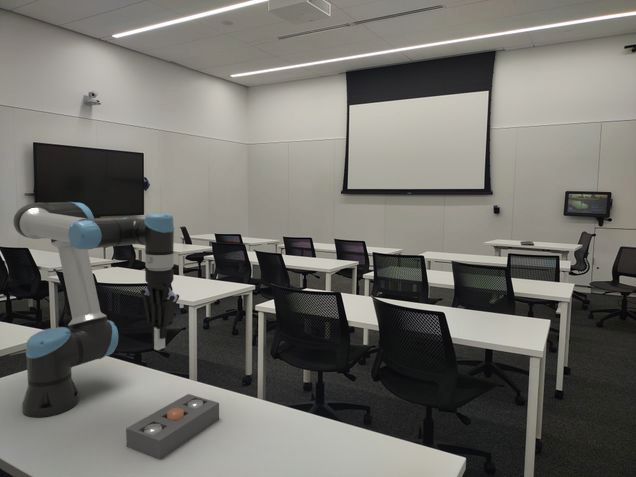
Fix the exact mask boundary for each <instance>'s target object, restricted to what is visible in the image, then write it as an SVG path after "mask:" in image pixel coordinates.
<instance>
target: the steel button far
mask: <svg viewBox="0 0 636 477" xmlns="http://www.w3.org/2000/svg"><path fill="white" fill-rule="evenodd" d="M201 405H203V401H202V400H191V401H189V402H188V407H192V408H195V409H197V408H198V407H200V406H201Z"/></svg>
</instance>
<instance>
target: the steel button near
mask: <svg viewBox="0 0 636 477" xmlns="http://www.w3.org/2000/svg"><path fill="white" fill-rule="evenodd" d="M160 430H162V426H161V425H160V424H151V425H148V426H146V427H145V428H144V433H147V434H150V435H154V434H156V433H157V432H159V431H160Z"/></svg>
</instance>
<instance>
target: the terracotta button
mask: <svg viewBox="0 0 636 477" xmlns="http://www.w3.org/2000/svg"><path fill="white" fill-rule="evenodd" d="M183 416H184V410H183V409H182V408H173V409H170V410H168V411H167V419H170V420H173V421H177V420H179V419H180V418H182V417H183Z"/></svg>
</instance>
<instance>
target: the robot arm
mask: <svg viewBox="0 0 636 477" xmlns="http://www.w3.org/2000/svg"><path fill="white" fill-rule="evenodd" d="M144 216H145V217H144V218H138V217H135V216H133V217H129V216H128V217H124V218H118V219H117V218H116V219H115V218H114V219H95V217H94V215H93V213H92V211H91V209H90V208H89V207H88V206H87V205H86V204H84V203H82V202H73V201H63V202H62V201H61V202H60V201H59V202H34V203H29V204H26V205H23V206H22V207H21V208H19V209H18V210H17V211H16V213H15V214H14V216H13V220H12V221H13V222H12V224H13V227H14V230H15V231H16V232H17V233H18V234H20V236H23V237H25V238H29V239H32V240H40V239H49V240H50V243H51V245H52V246H53V247H55V248H57V250H58V255H59V259H60V264H61V271H62V274H63V279H64V284H65V288H66V293H67V300H68V303H69V309H70V313H71V320H70V322H69V323H68V327H65V326H59V327H52V328H51V327H50V328H47V329H44V330H41V331H38V332H36V333H34V334H33V335H31V336H30V337H28V339H27V341H26V346H25V348H26V349H25V356H26V370H27V389H26V391H25V394H24V398H23V401H22V403H21V404H22V409H21V410H22V411H21V412H22V413H23V414H24V415H25V416H27V417H29V418H30V417H31V418H43V417H45V418H46V417H50V416H54V415H55V416H56V415H59V414H62V413H65V412H67V411H69V410H71V409H73V408H74V407H76V406H77V404H78V403H79V400H80V396H79V395H80V394H79V391H78V389H77V386H76V384H75V383H74V380H73V377H72V376H73V375H72V368H74V367H77V366H80V365H84V364H86V363H87V364H88V363H89V362H93V361H96V360H102V359H103V358H104V357H108V356H110V355H112V354H113V353H114V352H115V350H116V349H117V346H118V343H119V331H118V328H117V326H116V324H115V322H113V321H112V320H108V317H107V314H104V313H103V312H102V311H101V308H100V301H99V298H98V294H97V293H98V292H97V288H96V283H95V277H94V275H93V269H92V266H91V265H92V264H91V260H90V254H89V250H93V249H100V248H109V247H119V246H132V245H141V246H144V248H145V251H144V253H145V257H144V258H145V268H146V269H145V273H144V274H145V280H144V281H145V282H146V284H147V285H146V288H144V289H141V290H140V294H141V297H142V299H143V306H144V312H145V316H146V322H147V324H151V326H152V337H153V342H154V343H153V345H154V346H153V348H154V350H155V351H160V350H162V349H165V348H166V338H167V327H170V326H172V325H173V322H174V318H175V312H176V307H177V303H178V300H179V298H180V294H176V293H175V292H174V291H173V287H172V283H173V282H174V269H173V267H174V263H175V262H174V261H175V259H174V246H175V244H174V242H175V241H174V238H175V227H174V217H173V215H172V214H169V213H163V212H162V213H161V212H160V213H159V212H157V213H156V212H153V213H146V214H145V215H144Z"/></svg>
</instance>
